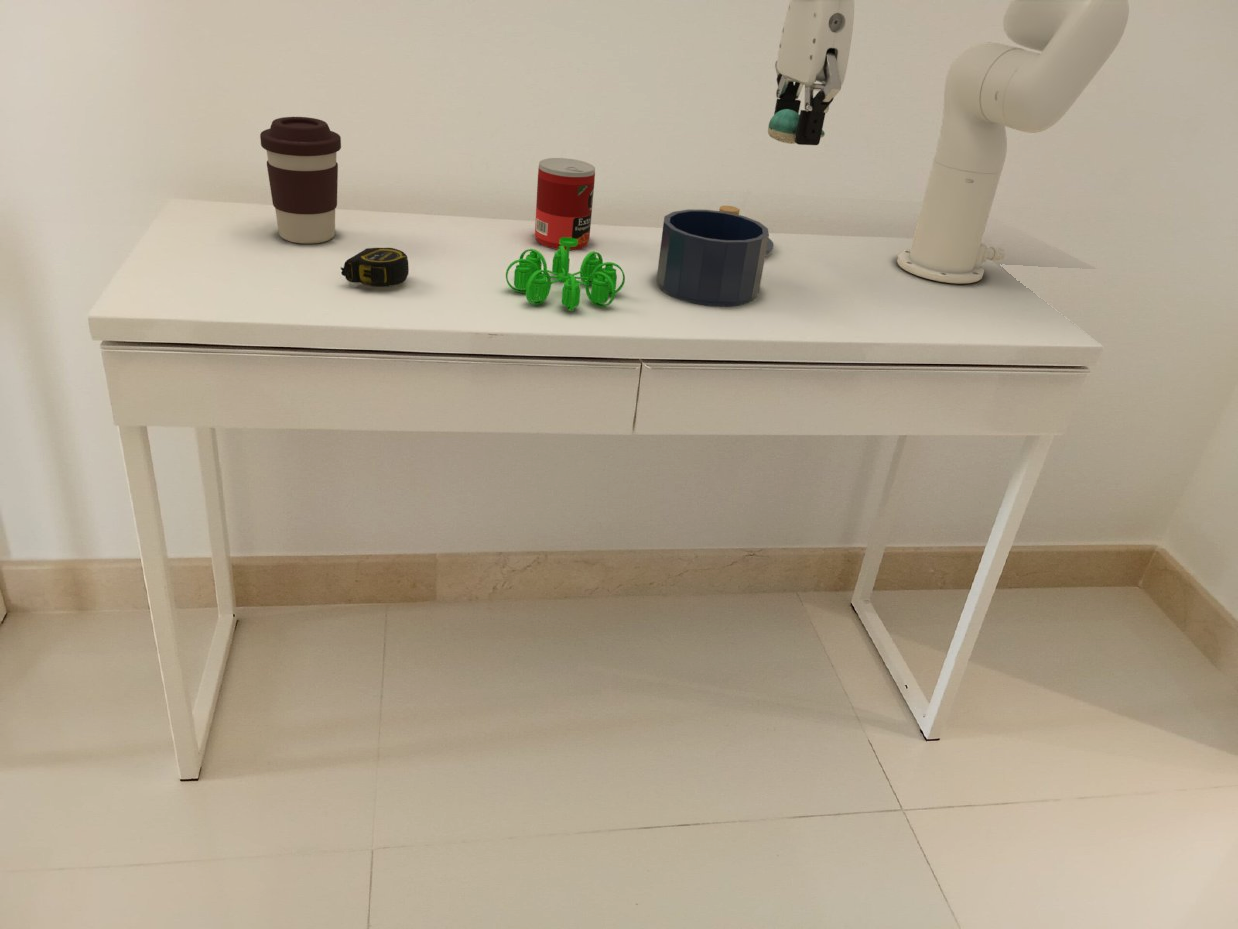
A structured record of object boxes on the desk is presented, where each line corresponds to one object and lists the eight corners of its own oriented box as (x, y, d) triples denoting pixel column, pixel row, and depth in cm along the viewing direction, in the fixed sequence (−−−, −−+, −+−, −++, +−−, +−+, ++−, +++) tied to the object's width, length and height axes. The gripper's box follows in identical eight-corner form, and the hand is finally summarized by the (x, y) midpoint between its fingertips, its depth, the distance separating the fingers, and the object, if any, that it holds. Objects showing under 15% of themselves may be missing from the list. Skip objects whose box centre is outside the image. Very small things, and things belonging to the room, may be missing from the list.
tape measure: (368, 269, 126) (367, 241, 124) (418, 279, 124) (418, 250, 123) (341, 286, 120) (339, 256, 118) (393, 296, 119) (392, 266, 117)
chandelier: (633, 317, 120) (639, 263, 117) (509, 314, 118) (511, 258, 114) (613, 274, 133) (618, 223, 130) (501, 270, 130) (503, 218, 127)
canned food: (582, 253, 139) (588, 175, 134) (527, 245, 140) (531, 166, 135) (594, 238, 146) (601, 162, 140) (542, 230, 147) (546, 154, 141)
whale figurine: (758, 134, 127) (763, 103, 125) (808, 136, 130) (813, 106, 128) (779, 145, 122) (785, 113, 121) (830, 147, 125) (837, 116, 123)
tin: (732, 268, 140) (742, 209, 136) (774, 305, 129) (786, 241, 125) (642, 270, 136) (649, 209, 131) (677, 308, 125) (686, 242, 120)
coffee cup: (287, 220, 139) (279, 110, 132) (355, 230, 138) (351, 119, 131) (255, 241, 131) (244, 124, 123) (328, 252, 130) (321, 134, 122)
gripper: (890, -8, 111) (854, 156, 120) (818, -24, 125) (790, 123, 134) (831, -14, 109) (799, 154, 118) (764, -30, 123) (740, 121, 132)
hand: (794, 136), depth 126 cm, fingers closed on whale figurine, 5 cm apart
